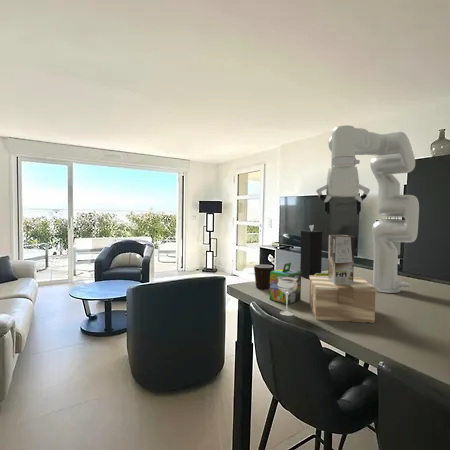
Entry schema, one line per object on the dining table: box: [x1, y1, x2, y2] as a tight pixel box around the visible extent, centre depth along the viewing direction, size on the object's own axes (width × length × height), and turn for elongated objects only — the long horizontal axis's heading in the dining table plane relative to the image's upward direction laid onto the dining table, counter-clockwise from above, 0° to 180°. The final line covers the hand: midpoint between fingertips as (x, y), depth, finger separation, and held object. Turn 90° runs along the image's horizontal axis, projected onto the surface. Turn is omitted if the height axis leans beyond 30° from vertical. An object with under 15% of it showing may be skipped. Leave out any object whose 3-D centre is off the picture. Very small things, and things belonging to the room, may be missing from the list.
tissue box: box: [299, 224, 323, 280], centre depth 161 cm, size 8×8×28 cm
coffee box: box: [327, 234, 356, 285], centre depth 105 cm, size 9×6×16 cm
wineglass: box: [277, 277, 297, 317], centre depth 104 cm, size 7×7×12 cm
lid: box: [309, 275, 378, 304], centre depth 105 cm, size 18×19×5 cm
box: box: [309, 279, 376, 324], centre depth 106 cm, size 17×18×10 cm
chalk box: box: [269, 262, 302, 305], centre depth 120 cm, size 9×9×15 cm
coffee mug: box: [253, 263, 274, 291], centre depth 138 cm, size 12×9×10 cm
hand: (342, 213), depth 104 cm, fingers open, 9 cm apart
